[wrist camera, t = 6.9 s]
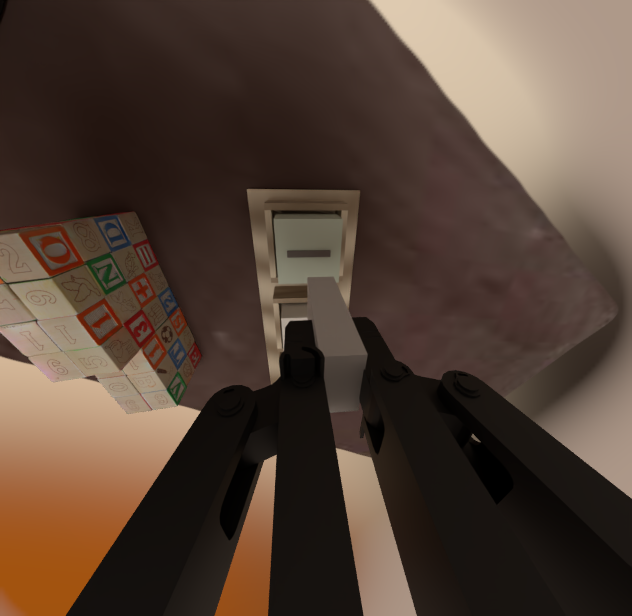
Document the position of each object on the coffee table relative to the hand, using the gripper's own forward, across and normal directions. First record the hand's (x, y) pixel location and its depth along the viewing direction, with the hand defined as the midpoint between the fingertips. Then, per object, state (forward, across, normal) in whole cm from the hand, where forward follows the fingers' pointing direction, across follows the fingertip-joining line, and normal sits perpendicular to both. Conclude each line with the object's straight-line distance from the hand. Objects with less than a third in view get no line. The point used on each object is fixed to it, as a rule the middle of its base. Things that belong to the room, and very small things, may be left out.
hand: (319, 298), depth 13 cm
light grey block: (+12, 0, 0) cm, 12 cm away
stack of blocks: (+17, -20, -8) cm, 28 cm away
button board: (+17, 0, -10) cm, 19 cm away
